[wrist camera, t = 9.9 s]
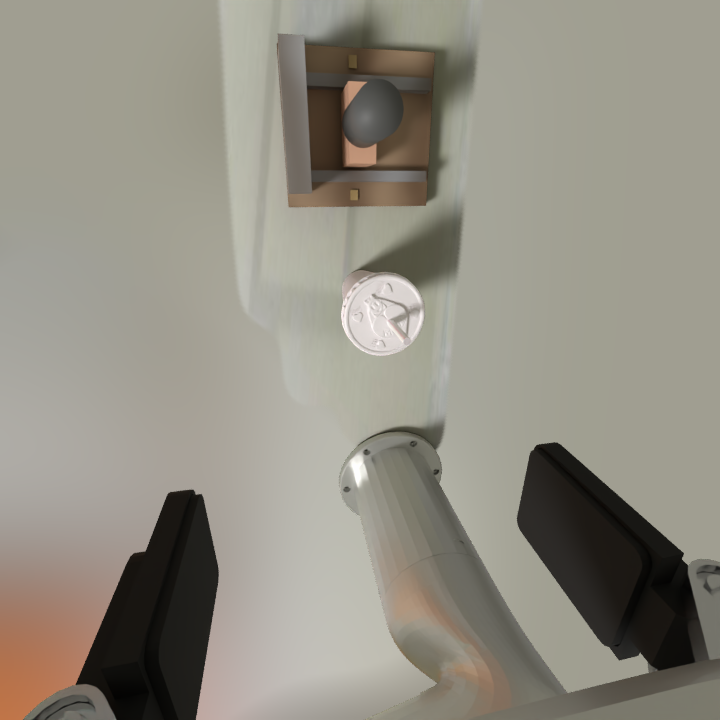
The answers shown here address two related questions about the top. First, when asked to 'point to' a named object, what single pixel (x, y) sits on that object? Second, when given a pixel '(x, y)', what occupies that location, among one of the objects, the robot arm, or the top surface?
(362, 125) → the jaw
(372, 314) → the smoothie
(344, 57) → the vise base
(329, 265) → the top surface
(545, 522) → the robot arm
